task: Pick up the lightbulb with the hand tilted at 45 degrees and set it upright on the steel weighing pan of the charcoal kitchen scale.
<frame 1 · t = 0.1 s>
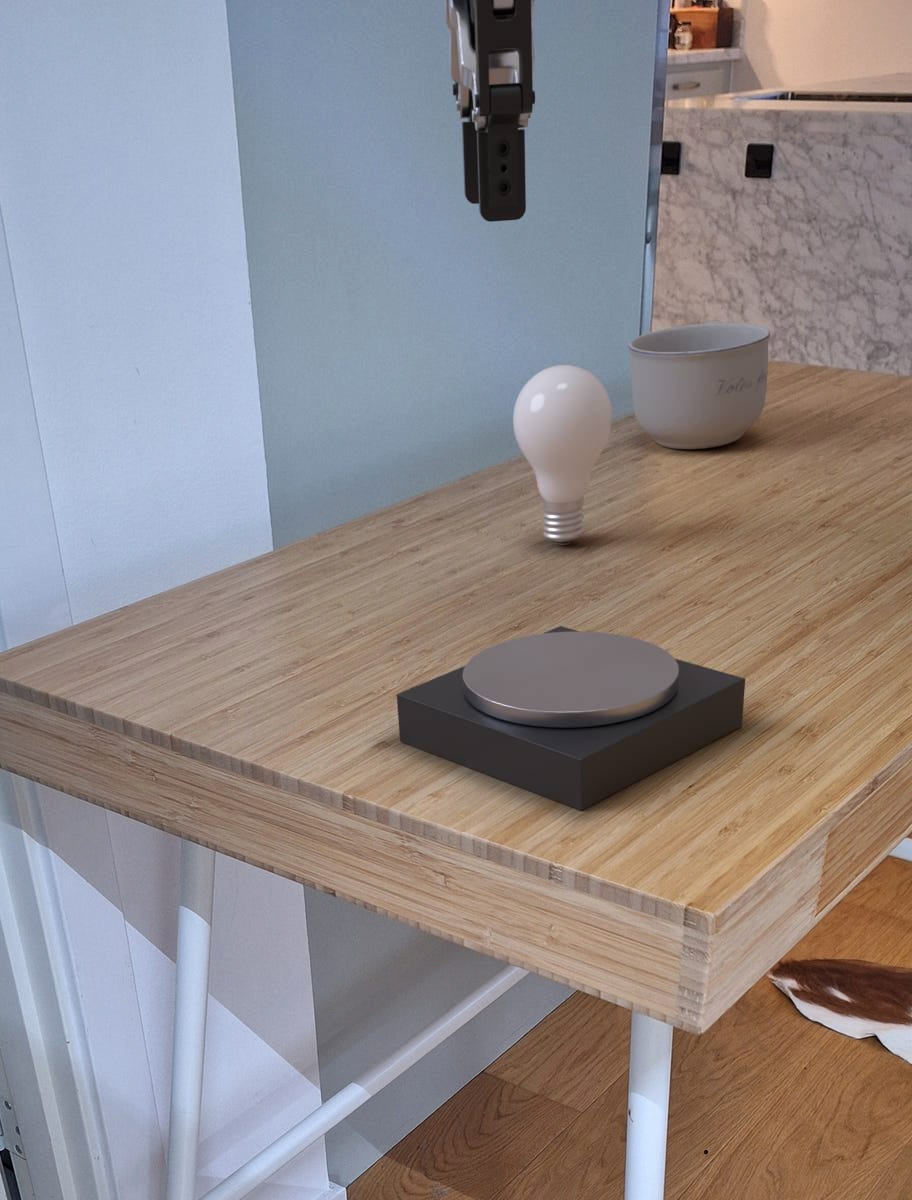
hand: (493, 210, 75), 21 cm above the table, tool pointing down, fingers open, 8 cm apart
teacup: (700, 439, 119), on the table
lightbulb: (563, 546, 98), on the table
scale pan: (570, 677, 71), point 3 cm above the table, slide at -0.3 cm
scale: (570, 734, 73), on the table
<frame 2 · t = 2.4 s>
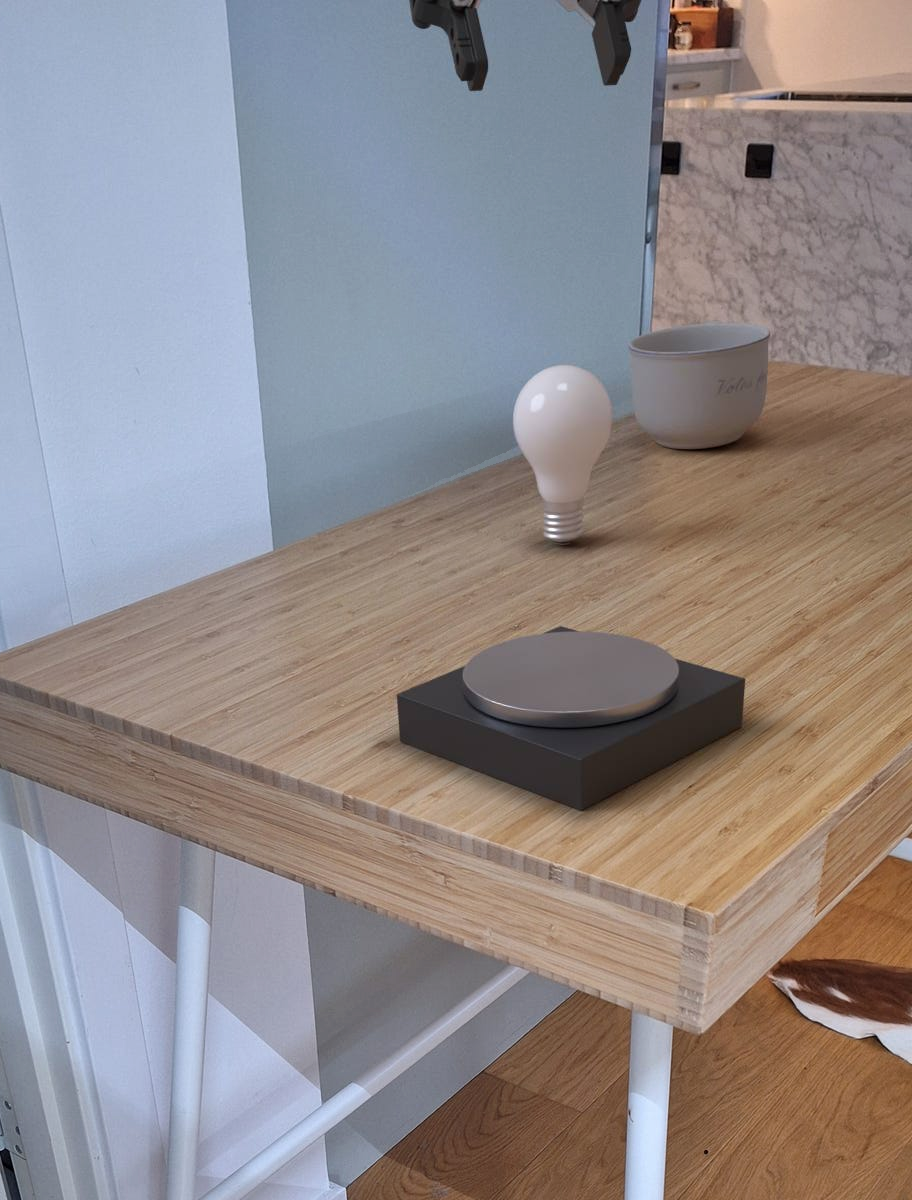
hand: (548, 78, 87), 26 cm above the table, tool tilted 40°, fingers open, 8 cm apart
nothing on the table moved.
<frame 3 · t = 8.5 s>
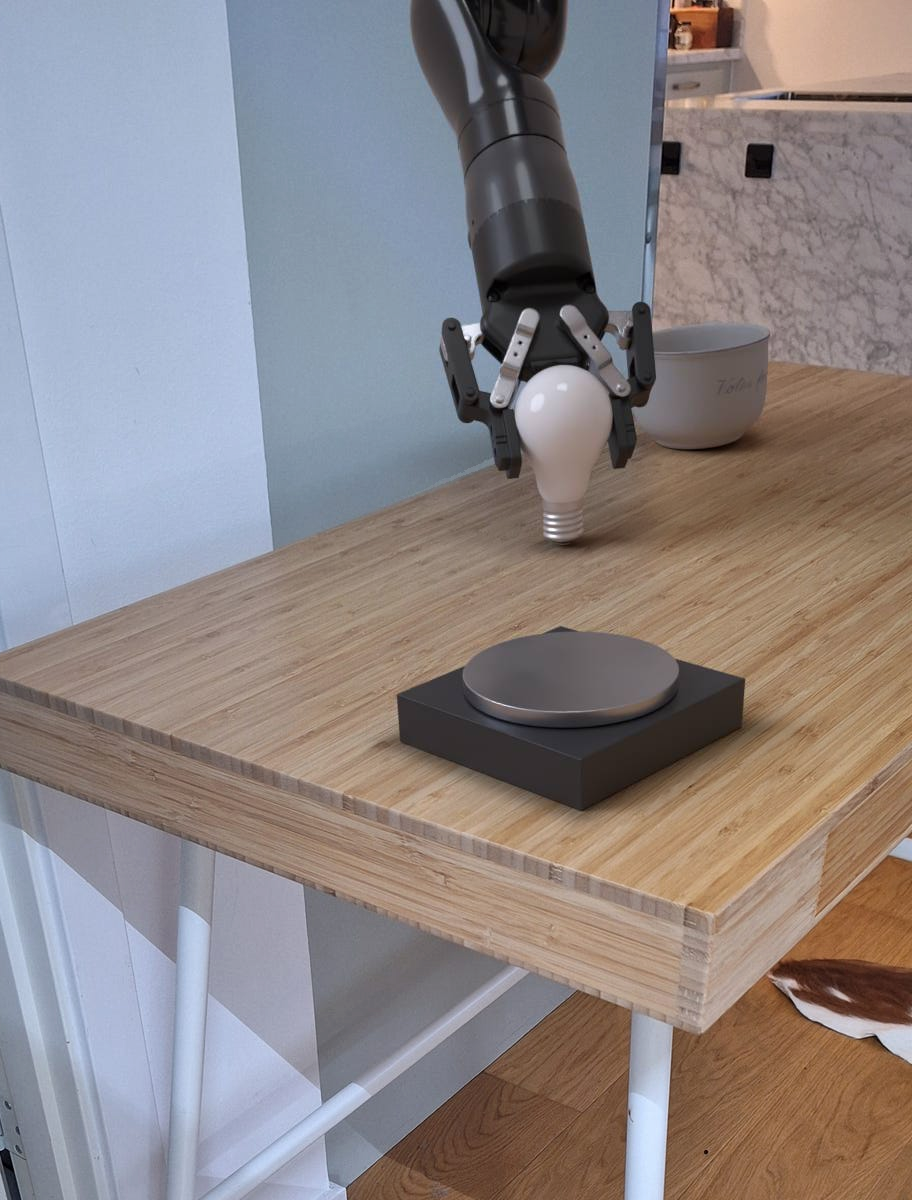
hand: (568, 466, 94), 5 cm above the table, tool tilted 45°, fingers closed on lightbulb, 6 cm apart
lightbulb: (563, 546, 98), on the table, touching gripper
everything else where it was.
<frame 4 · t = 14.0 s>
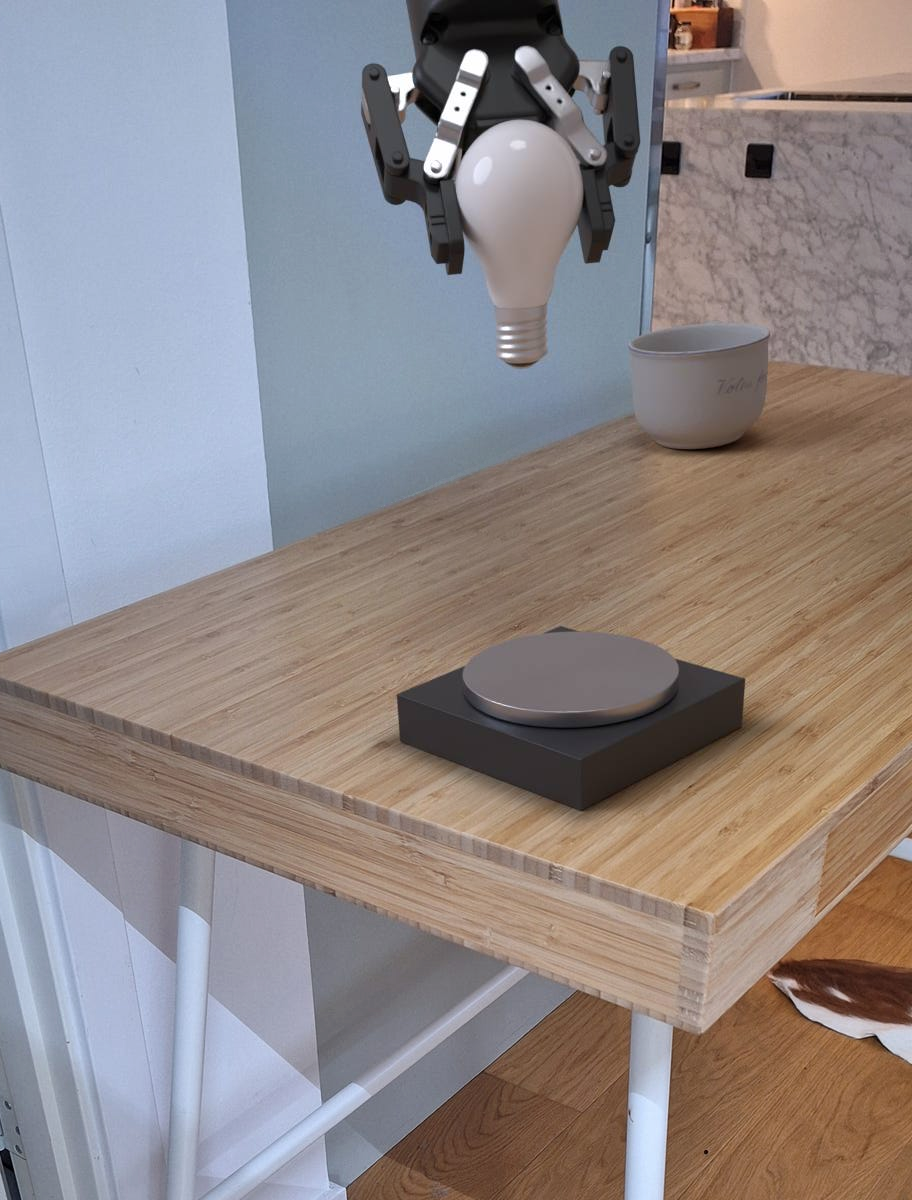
hand: (526, 256, 72), 20 cm above the table, tool tilted 45°, fingers closed on lightbulb, 6 cm apart
lightbulb: (522, 371, 77), point 14 cm above the table, touching gripper
everything else where it was.
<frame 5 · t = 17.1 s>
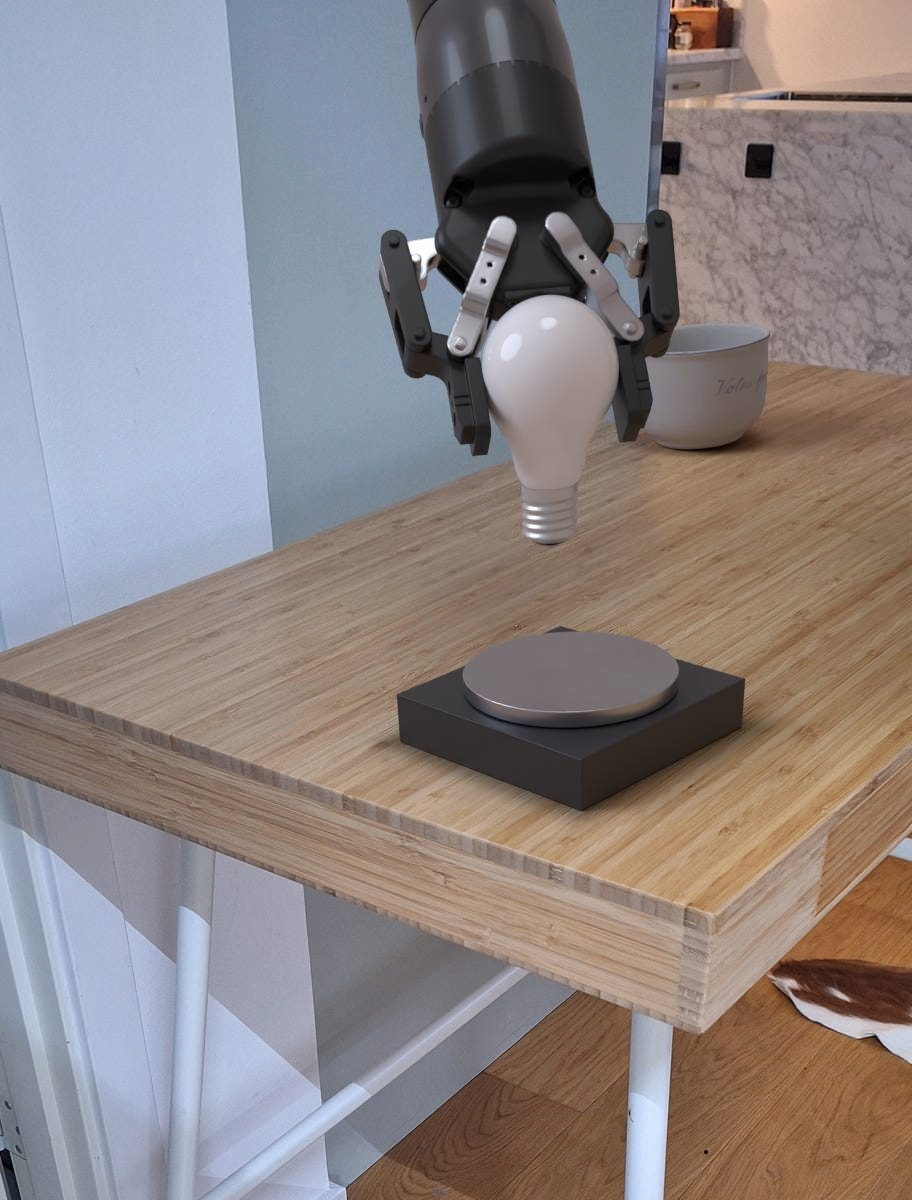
hand: (557, 438, 67), 13 cm above the table, tool tilted 45°, fingers closed on lightbulb, 6 cm apart
lightbulb: (550, 549, 72), point 8 cm above the table, touching gripper
everything else where it was.
when the fingers open (9 cm above the table, at t = 19.6 s): lightbulb stays where it is, resting on scale pan.
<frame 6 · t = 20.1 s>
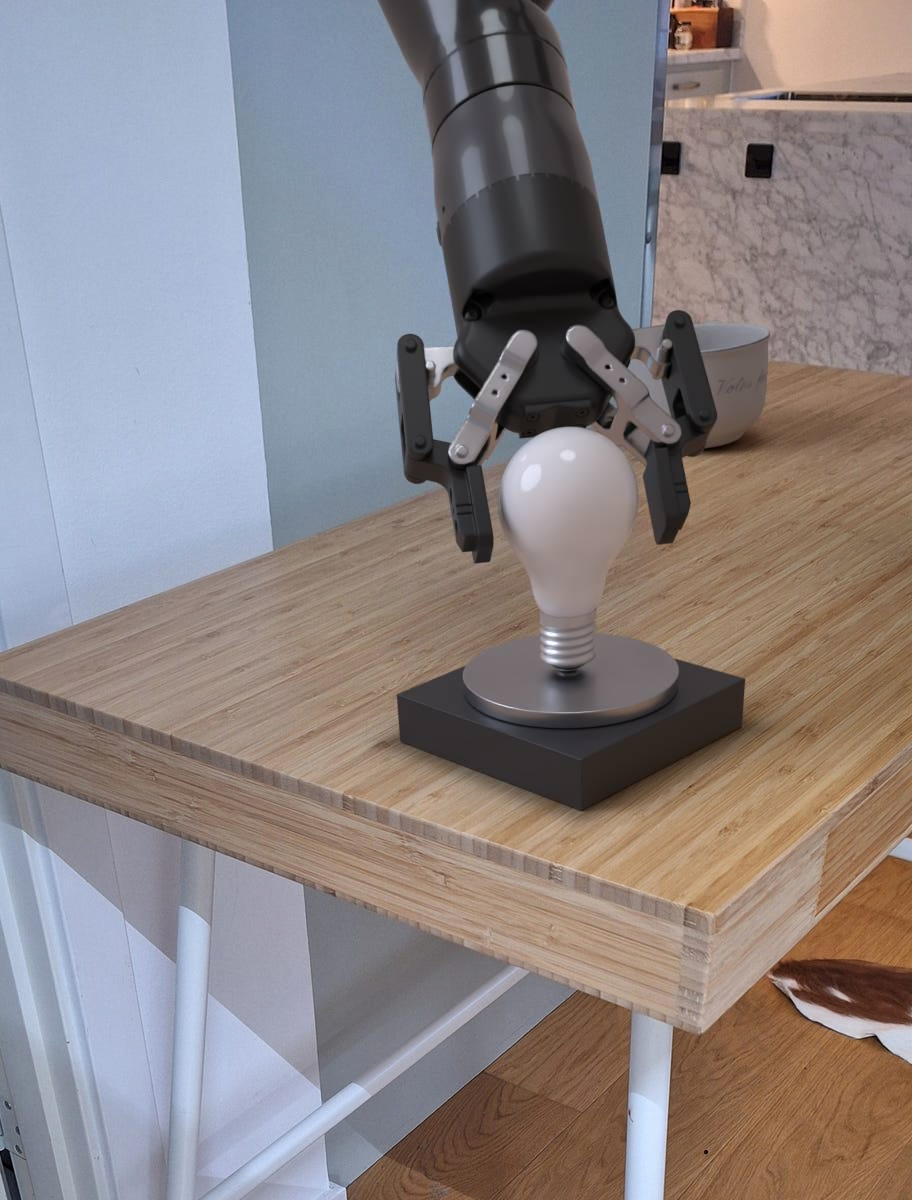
hand: (577, 545, 66), 10 cm above the table, tool tilted 45°, fingers open, 8 cm apart
lightbulb: (568, 672, 71), point 3 cm above the table, touching scale pan
scale pan: (570, 677, 71), point 3 cm above the table, slide at -0.4 cm, touching lightbulb
everything else where it was.
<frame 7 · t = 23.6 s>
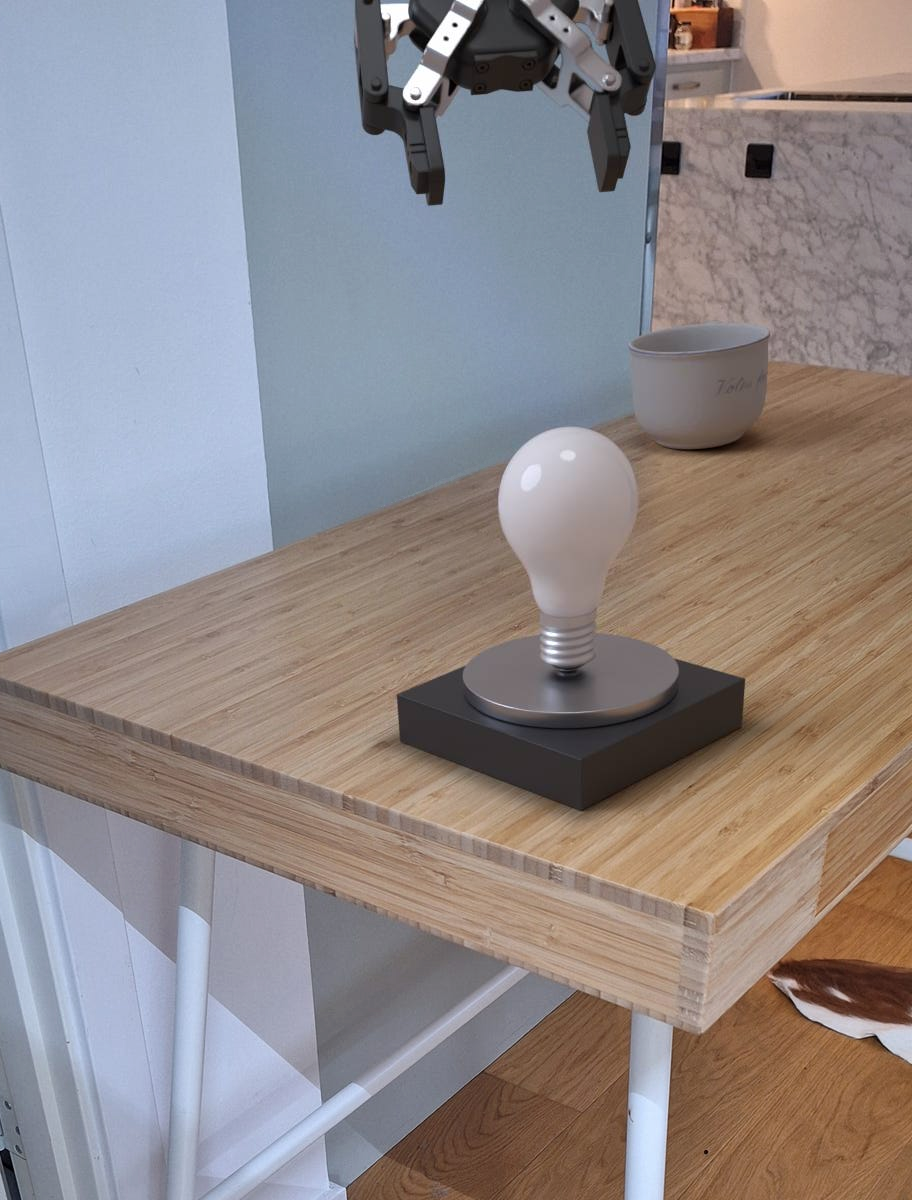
hand: (524, 186, 70), 23 cm above the table, tool tilted 45°, fingers open, 8 cm apart
nothing on the table moved.
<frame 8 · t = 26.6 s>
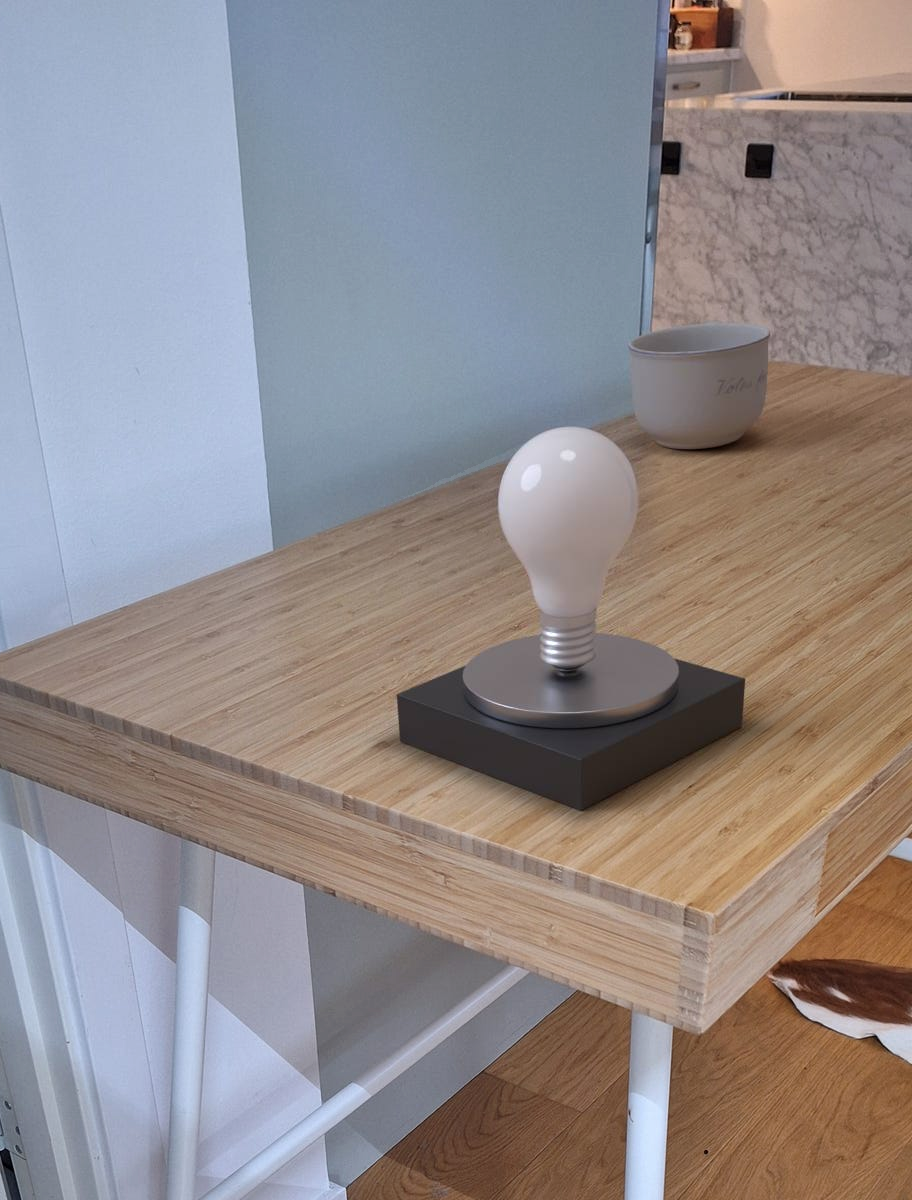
nothing on the table moved.
at the end: lightbulb inside the target area on the scale (0.2 cm from its centre), point 3.1 cm above the scale's base; lightbulb tilted 0° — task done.
